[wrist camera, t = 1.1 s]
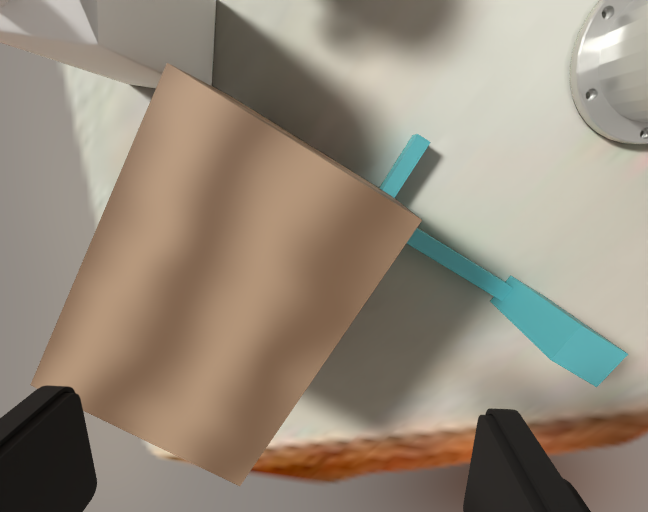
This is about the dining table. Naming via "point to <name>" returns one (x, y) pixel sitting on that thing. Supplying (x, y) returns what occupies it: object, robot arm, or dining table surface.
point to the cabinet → (218, 278)
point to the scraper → (516, 295)
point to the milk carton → (116, 35)
